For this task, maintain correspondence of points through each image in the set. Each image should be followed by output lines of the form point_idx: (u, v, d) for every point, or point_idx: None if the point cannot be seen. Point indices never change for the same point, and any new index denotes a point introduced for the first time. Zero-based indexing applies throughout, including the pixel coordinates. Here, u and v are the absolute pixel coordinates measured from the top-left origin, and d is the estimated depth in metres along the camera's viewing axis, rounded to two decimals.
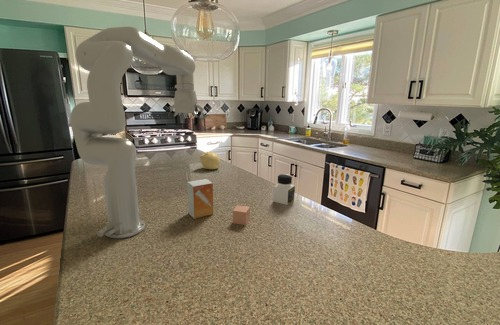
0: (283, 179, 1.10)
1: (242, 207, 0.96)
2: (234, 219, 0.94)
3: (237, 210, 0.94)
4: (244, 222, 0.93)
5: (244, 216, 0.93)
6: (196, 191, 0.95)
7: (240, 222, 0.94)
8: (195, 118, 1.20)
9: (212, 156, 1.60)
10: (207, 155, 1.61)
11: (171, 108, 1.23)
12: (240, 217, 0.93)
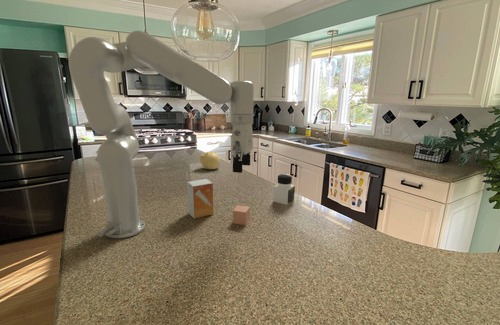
0: (283, 179, 1.10)
1: (242, 207, 0.96)
2: (234, 219, 0.94)
3: (237, 210, 0.94)
4: (244, 222, 0.93)
5: (244, 216, 0.93)
6: (196, 191, 0.95)
7: (240, 222, 0.94)
8: None
9: (212, 156, 1.60)
10: (207, 155, 1.61)
11: (236, 151, 0.82)
12: (240, 217, 0.93)
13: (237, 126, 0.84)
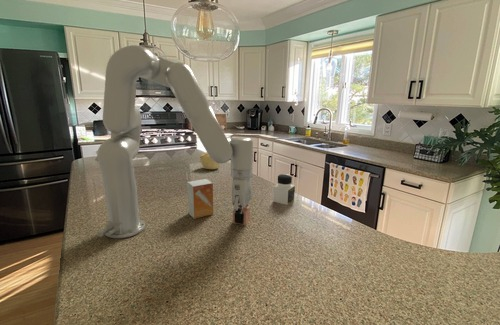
0: (283, 179, 1.10)
1: None
2: (234, 219, 0.94)
3: None
4: (244, 222, 0.93)
5: (244, 216, 0.93)
6: (196, 191, 0.95)
7: None
8: None
9: None
10: (207, 155, 1.61)
11: (237, 208, 0.89)
12: None
13: (237, 181, 0.88)
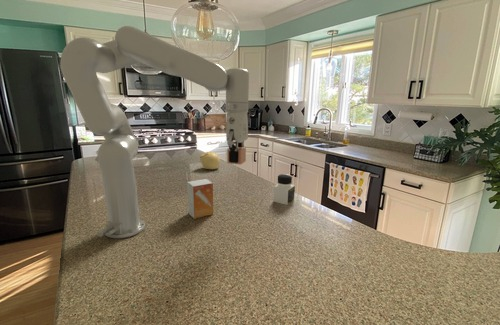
0: (283, 179, 1.10)
1: None
2: None
3: None
4: (239, 161, 0.88)
5: (239, 154, 0.88)
6: (196, 191, 0.95)
7: None
8: None
9: (212, 156, 1.60)
10: (207, 155, 1.61)
11: (232, 142, 0.84)
12: None
13: (232, 114, 0.83)
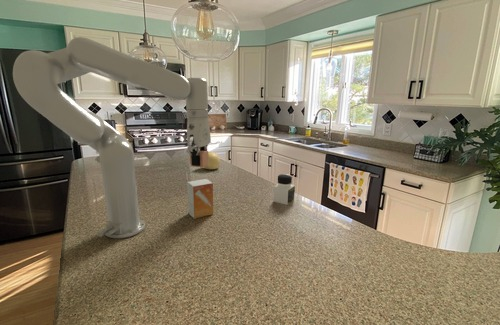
0: (283, 179, 1.10)
1: (200, 151, 0.97)
2: (191, 162, 0.95)
3: None
4: (201, 164, 0.94)
5: (201, 158, 0.93)
6: (196, 191, 0.95)
7: None
8: None
9: (212, 156, 1.60)
10: None
11: (192, 147, 0.89)
12: None
13: (191, 120, 0.89)
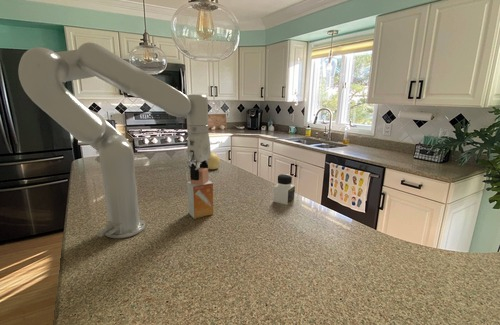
0: (283, 179, 1.10)
1: (200, 168, 0.98)
2: None
3: None
4: (201, 182, 0.96)
5: (201, 176, 0.95)
6: (196, 191, 0.95)
7: (197, 182, 0.96)
8: None
9: (212, 156, 1.60)
10: None
11: (191, 161, 0.90)
12: None
13: (191, 136, 0.90)
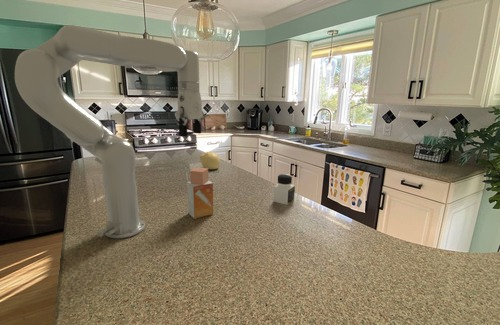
0: (283, 179, 1.10)
1: (200, 168, 0.98)
2: (192, 179, 0.96)
3: (194, 170, 0.96)
4: (201, 182, 0.96)
5: (201, 176, 0.95)
6: (196, 191, 0.95)
7: (197, 182, 0.96)
8: None
9: (212, 156, 1.60)
10: (207, 155, 1.61)
11: (179, 115, 0.90)
12: (197, 177, 0.95)
13: (181, 92, 0.91)
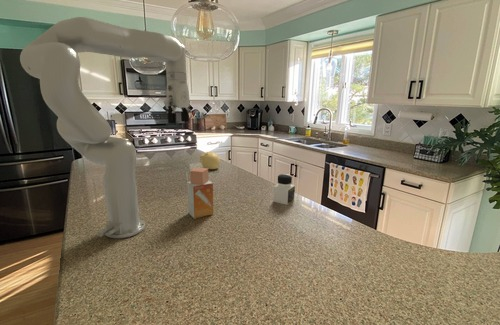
0: (283, 179, 1.10)
1: (200, 168, 0.98)
2: (192, 179, 0.96)
3: (194, 170, 0.96)
4: (201, 182, 0.95)
5: (201, 176, 0.95)
6: (196, 191, 0.95)
7: (197, 182, 0.96)
8: None
9: (212, 156, 1.60)
10: (207, 155, 1.61)
11: (168, 103, 0.96)
12: (197, 177, 0.95)
13: (170, 82, 0.97)
